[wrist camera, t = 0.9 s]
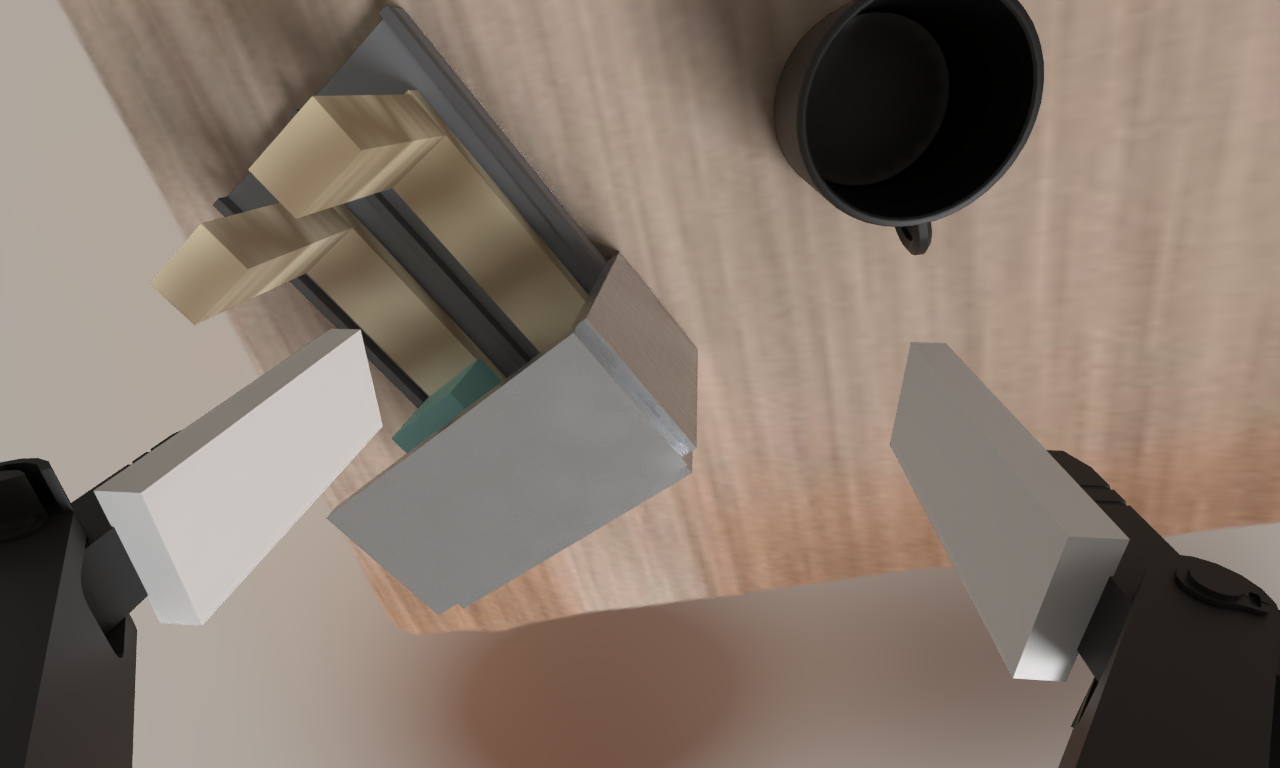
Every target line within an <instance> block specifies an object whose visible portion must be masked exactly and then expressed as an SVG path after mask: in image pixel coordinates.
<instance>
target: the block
mask: <svg viewBox="0 0 1280 768" xmlns="http://www.w3.org/2000/svg"><path fill="white" fill-rule="evenodd" d="M501 382H502V380H501V379H500V378H499V377H498V376H497V375H496V374H495V373H494V372H493V371H492V370H491V369H490V368H489V366H488V365H487V364H486V363H485V362H484V361H483V360H482V359H481V358H480V357H479V358H478V359H477V360H476V361H474V362H473V363H472V364H471V365H469V366H468V367H467V368H465V369H464V370H463V371H462V372H460V373H459V374H458V375H457V376H455V377H454V378H453V379H451V380H450V381H449V382H448V383H446V384H445V385H444V386H443V387H441V388H440V389H439V390H437V391H436V392H435V393H434V394H432V395H431V396H430V397H429V398H427V399H426V400H425V401H424V403H423V404H422V405H421V406H420V407H419V408H418V409H417V410H416V412H415V413H414V414H413V415H412V416H411V417H410V418H409V419H408V421H407V422H406V423H405V424H404V425H403V426H402V427H401V428H400V430H399V431H398V432H397V433H396V434H395V435H394V436H393V437H392V440H394V441H395V442H396V443H397V444H398V445H399V446H400V447H401V448H402V449H403V450H404V451H405V452H406V453H408V452H409V451H411V450H412V449H413V448H415V447H416V446H417V445H419V444H420V443H421V442H423V441H424V440H425V439H427V438H428V437H429V436H431V435H432V434H433V433H435V432H436V431H437V430H439V429H440V428H441V427H443V426H444V425H445V424H447V423H448V422H449V421H450V420H452V419H453V418H454V417H456V416H457V415H458V414H460V413H461V412H462V411H464V410H465V409H466V408H468V407H469V406H470V405H472V404H473V403H474V402H476V401H477V400H478V399H480V398H481V397H482V396H484V395H485V394H486V393H488V392H489V391H490V390H492V389H493V388H494V387H496V386H497V385H498V384H500V383H501Z"/></svg>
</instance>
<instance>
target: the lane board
mask: <svg viewBox="0 0 1280 768" xmlns="http://www.w3.org/2000/svg"><path fill="white" fill-rule="evenodd" d="M379 14H380V16H381V17H382V18H383V20H382V21H381V22H380V23H379V24H378V25H377V26H376V28H375V29H374V30H373V31H372V32H371V33H370V34H369V36H368V37H367V38H366V39H365V40H364V41H363V42H362V44H361V45H360V46H359V47H358V48H357V49H356V50H355V52H354V53H353V54H352V55H351V56H350V57H349V58H348V60H347V61H346V62H345V63H344V64H343V65H342V66H341V68H340V69H339V70H338V71H337V72H336V73H335V74H334V76H333V77H332V78H331V79H330V80H329V81H328V82H327V84H326V85H325V86H324V87H323V88H322V89H321V90H320V92H319V93H318V94H317V95H316V96H342V95H404V94H405V93H406V92H407V91H408V90H418V91H419V92H420V94H421V95H422V96H423V97H424V98H425V100H426V101H427V102H428V103H429V104H430V106H431V107H432V108H433V109H434V110H435V112H436V113H437V114H438V115H439V116H440V118H441V119H442V120H443V121H444V122H445V124H446V125H447V126H448V127H449V128H450V130H451V131H452V132H453V133H454V134H455V136H456V137H457V138H458V139H459V140H460V142H461V143H462V144H463V145H464V146H465V148H466V149H467V150H468V151H469V152H470V154H471V155H472V156H473V157H474V158H475V160H476V161H477V162H478V163H479V164H480V165H481V167H482V168H483V169H484V170H485V171H486V173H487V174H488V175H489V176H490V177H491V179H492V180H493V181H494V182H495V183H496V185H497V186H498V187H499V188H500V189H501V191H502V192H503V193H504V194H505V195H506V197H507V198H508V199H509V200H510V201H511V203H512V204H513V205H514V206H515V207H516V209H517V210H518V211H519V212H520V213H521V215H522V216H523V217H524V218H525V219H526V221H527V222H528V223H529V224H530V225H531V227H532V228H533V229H534V230H535V231H536V233H537V234H538V235H539V236H540V237H541V239H542V240H543V241H544V242H545V243H546V245H547V246H548V247H549V248H550V249H551V251H552V252H553V253H554V254H555V255H556V257H557V258H558V259H559V260H560V261H561V263H562V264H563V265H564V266H565V267H566V269H567V270H568V271H569V272H570V273H571V275H572V276H573V277H574V278H575V279H576V281H577V282H578V283H579V284H580V285H581V286H582V288H583V289H584V290H585V291H586V292H587V294H588V295H589V294H590V292H591V290H592V288H593V286H594V285H595V283H596V281H597V279H598V277H599V275H600V274H601V272H602V270H603V268H604V266H605V264H606V263H607V261H606V259H605V258H604V257H603V256H602V255H601V253H600V252H599V251H598V250H597V248H596V247H595V246H594V245H593V243H592V242H591V241H590V240H589V238H588V237H587V236H586V235H585V233H584V232H583V231H582V230H581V228H580V227H579V226H578V225H577V224H576V222H575V221H574V220H573V219H572V217H571V216H570V215H569V214H568V212H567V211H566V210H565V209H564V207H563V206H562V205H561V204H560V202H559V201H558V200H557V199H556V197H555V196H554V195H553V194H552V193H551V191H550V190H549V189H548V188H547V186H546V185H545V184H544V183H543V181H542V180H541V179H540V178H539V176H538V175H537V174H536V173H535V171H534V170H533V169H532V168H531V166H530V165H529V164H528V163H527V162H526V160H525V159H524V158H523V157H522V155H521V154H520V153H519V152H518V150H517V149H516V148H515V147H514V145H513V144H512V143H511V142H510V140H509V139H508V138H507V137H506V135H505V134H504V133H503V132H502V131H501V129H500V128H499V127H498V126H497V124H496V123H495V122H494V121H493V119H492V118H491V117H490V116H489V114H488V113H487V112H486V111H485V109H484V108H483V107H482V106H481V104H480V103H479V102H478V101H477V100H476V98H475V97H474V96H473V95H472V93H471V92H470V91H469V90H468V88H467V87H466V86H465V85H464V83H463V82H462V81H461V80H460V78H459V77H458V76H457V75H456V73H455V72H454V71H453V70H452V69H451V67H450V66H449V65H448V64H447V62H446V61H445V60H444V59H443V57H442V56H441V55H440V54H439V52H438V51H437V50H436V49H435V47H434V46H433V45H432V44H431V43H430V41H429V40H428V39H427V38H426V36H425V35H424V34H423V33H422V31H421V30H420V29H419V28H418V26H417V25H416V24H415V23H414V21H413V20H412V19H411V18H410V16H409V15H408V14H407V13H406V12H405V10H404V9H400V8H396V7H393V6H389V5H386V6H385V7H384V8H383V9H382V11H381V12H380V13H379ZM300 110H301V109H296V110H295V111H294V112H293V113H292V114H291V115H290V118H291V119H293V118H294V116H295V115H296V114H297V113H298V112H299V111H300ZM276 203H280V202H279V201H278V200H277V199H276V198H275V197H274V196H273V195H272V194H271V193H270V192H269V191H268V190H267V189H266V187H265V186H264V185H263V184H262V183H261V182H260V181H259V180H258V179H257V178H256V177H255V176H254V175H253V174H252V173H251V172H249V173H248V174H247V175H246V176H245V177H244V178H243V180H242V181H241V182H240V183H239V184H238V185H237V186H236V188H235V189H234V190H233V191H232V192H231V193H230V194H229V196H227V197H223V198H218V199H217V201H216V202H215V203H214V204H213V206H214V207H215V208H216V209H217V210H218V211H219V212H220V213H221V214H222V215H223V216H224V217H228V216H231V215H235V214H239V213H243V212H246V211H250V210H254V209H258V208H261V207H265V206H269V205H273V204H276ZM344 204H345V205H346V206H347V208H348V209H349V210H350V211H351V212H352V213H353V214H354V215H355V216H356V217H357V218H358V219H359V220H360V222H361V223H362V224H363V225H364V226H365V227H366V228H367V229H368V230H369V231H370V232H371V233H372V234H373V235H374V237H375V238H376V239H377V240H378V241H379V242H380V243H381V244H382V245H383V246H384V247H385V248H386V249H387V250H388V252H389V253H390V254H391V255H392V256H393V257H394V258H395V259H396V260H397V261H398V262H399V263H400V264H401V265H402V267H403V268H404V269H405V270H406V271H407V272H408V273H409V274H410V275H411V276H412V277H413V278H414V279H415V280H416V282H417V283H418V284H419V285H420V286H421V287H422V288H423V289H424V290H425V291H426V292H427V293H428V294H429V295H430V297H431V298H432V299H433V300H434V301H435V302H436V303H437V304H438V305H439V306H440V307H441V308H442V309H443V310H444V312H445V313H446V314H447V315H448V316H449V317H450V318H451V319H452V320H453V321H454V322H455V323H456V324H457V325H458V327H459V328H460V329H461V330H462V331H463V332H464V333H465V334H466V335H467V336H468V337H469V338H470V339H471V340H472V342H473V343H474V344H475V345H476V346H477V347H478V348H479V349H480V350H481V351H482V352H483V353H484V354H485V355H486V357H487V358H488V359H489V360H490V361H491V362H492V363H493V364H494V365H495V366H496V367H497V368H498V369H499V370H500V372H501V373H502V374H503V375H504V376H505V377H506V378H508V377H509V376H510V375H511V374H513V373H514V372H515V371H517V370H518V369H519V368H521V367H522V366H523V365H525V364H526V363H527V362H529V361H530V360H531V359H533V358H534V357H535V356H537V355H538V354H539V353H540V352H539V351H538V350H537V349H536V347H535V346H534V345H533V344H532V343H531V342H530V341H529V340H528V339H527V337H526V336H525V335H524V334H523V333H522V332H521V331H520V330H519V329H518V327H517V326H516V325H515V324H514V323H513V322H512V321H511V320H510V318H509V317H508V316H507V315H506V314H505V313H504V312H503V311H502V310H501V308H500V307H499V306H498V305H497V304H496V303H495V302H494V301H493V300H492V298H491V297H490V296H489V295H488V294H487V293H486V292H485V291H484V289H483V288H482V287H481V286H480V285H479V284H478V283H477V282H476V281H475V279H474V278H473V277H472V276H471V275H470V274H469V273H468V272H467V271H466V269H465V268H464V267H463V266H462V265H461V264H460V263H459V262H458V260H457V259H456V258H455V257H454V256H453V255H452V254H451V253H450V252H449V250H448V249H447V248H446V247H445V246H444V245H443V244H442V243H441V242H440V240H439V239H438V238H437V237H436V236H435V235H434V234H433V233H432V231H431V230H430V229H429V228H428V227H427V226H426V225H425V224H424V223H423V221H422V220H421V219H420V218H419V217H418V216H417V215H416V214H415V213H414V211H413V210H412V209H411V208H410V207H409V206H408V205H407V204H406V202H405V201H404V200H403V199H402V198H401V197H400V196H399V195H398V194H397V192H396V191H395V190H394V189H393V188H391V189H388V190H385V191H381V192H378V193H375V194H372V195H369V196H366V197H363V198H359V199H356V200H353V201H350V202H347V203H344ZM290 282H291V283H292V284H293V285H294V286H295V287H296V288H297V289H298V290H299V291H300V292H301V293H302V294H303V295H304V296H305V297H306V298H307V299H308V300H309V301H310V302H311V303H312V304H313V305H314V306H315V307H316V308H317V309H318V310H319V311H320V312H321V313H322V314H323V315H324V316H325V317H326V318H327V319H328V320H330V321H331V322H332V323H333V324H334V325H335V326H336V327H337V328H338V329H361V334H362V338H363V342H364V347H365V351H366V355H367V358H368V359H369V360H370V361H371V362H372V363H373V364H374V365H375V366H376V367H377V368H378V369H379V370H380V371H381V372H382V373H383V374H384V375H385V376H386V377H387V378H388V379H389V380H390V381H391V382H392V383H393V384H394V385H395V386H396V387H397V388H398V389H399V390H400V391H401V392H402V393H403V394H404V395H405V396H406V397H407V398H408V399H409V400H410V401H411V402H412V403H413V404H414V405H415V406H416V407H417V408H419V407H420V406H421V405H422V404H423V403H424V401H425V400H426V399H427V398H429V396H428V395H427V394H426V393H425V392H424V391H423V389H422V388H421V387H420V386H419V385H418V384H417V383H416V382H415V381H414V380H413V379H412V378H411V377H410V376H409V375H408V374H407V373H406V372H405V371H404V370H403V369H402V368H401V367H400V366H399V365H398V364H397V363H396V362H395V361H394V360H393V359H392V358H391V357H390V356H389V355H388V354H387V353H386V352H385V351H384V350H383V349H382V348H381V347H380V346H379V345H378V344H377V343H376V342H375V341H374V340H373V339H372V338H371V337H370V336H369V335H368V334H367V333H366V332H365V331H364V330H363V329H362V328H361V327H360V326H359V325H358V324H357V323H356V322H355V321H354V320H353V319H352V318H351V317H350V316H349V315H348V314H347V313H346V312H345V311H344V310H343V309H342V308H341V307H340V306H339V305H338V304H337V303H336V302H335V301H334V300H333V299H332V298H331V297H330V296H329V295H328V294H327V293H326V292H325V291H324V290H323V289H322V288H321V287H320V286H319V285H318V284H317V283H316V282H315V281H314V280H313V279H312V278H311V277H310V276H309V275H308V274H307V273H305V274H303V275H301V276H299V277H297V278H295V279H293V280H290Z"/></svg>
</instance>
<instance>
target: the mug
mask: <svg viewBox="0 0 1280 768" xmlns="http://www.w3.org/2000/svg"><path fill="white" fill-rule="evenodd" d="M1043 83H1044V61H1043V55H1042V50H1041V44H1040V41H1039V37H1038V35H1037V32H1036V29H1035V26H1034V24H1033V22H1032V20H1031V18H1030V17H1029V15H1028V14H1027V12H1026V10H1025V9H1024V7H1023V6H1022V5H1021V3H1020V2H1019V1H1018V0H853V1H851V2H849V3H848V4H846V5H844V6H843V7H841V8H839V9H837V10H836V11H834V12H832V13H831V14H829V15H828V16H826V17H825V18H823V19H822V20H821V21H819V22H818V23H817V24H816V25H815V26H813V27H812V28H811V29H810V30H809V31H808V32H807V33H806V34H805V36H804V37H803V38H802V39H801V40H800V42H799V43H798V44H797V45H796V47H795V48H794V50H793V52H792V53H791V55H790V57H789V58H788V60H787V62H786V64H785V66H784V69H783V71H782V74H781V76H780V79H779V83H778V87H777V91H776V96H775V105H774V121H775V128H776V134H777V138H778V141H779V144H780V147H781V149H782V152H783V154H784V156H785V157H786V159H787V161H788V163H789V164H790V165H791V167H792V168H793V169H794V170H795V172H796V173H797V174H798V175H799V176H801V177H802V178H803V179H804V180H805V181H806V182H807V183H808V184H810V185H811V186H812V187H813V188H814V189H815V190H816V191H818V192H819V193H820V194H821V195H822V196H823V197H824V198H826V199H827V200H828V201H829V202H830V203H831V204H833V205H834V206H835V207H836V208H838V209H839V210H841V211H842V212H844V213H846V214H847V215H849V216H851V217H853V218H856V219H858V220H861V221H863V222H866V223H871V224H876V225H881V226H893V227H895V229H896V231H897V234H898V236H899V238H900V240H901V242H902V244H903V245H904V246H905V247H906V249H907V250H908V251H909V252H910V253H911V254H913V255H920V254H924V253H925V252H926V250H927V249H928V247H929V245H930V243H931V237H932V227H931V222H932V221H936V220H938V219H941V218H943V217H946V216H948V215H951V214H953V213H955V212H957V211H959V210H960V209H962V208H964V207H966V206H967V205H969V204H971V203H972V202H974V201H975V200H976V199H978V198H979V197H980V196H982V195H983V194H984V193H985V192H986V191H988V190H989V189H990V188H991V187H992V186H993V185H994V184H995V183H996V182H997V181H998V180H999V179H1000V178H1001V177H1002V176H1003V175H1004V174H1005V173H1006V171H1007V170H1008V169H1009V168H1010V166H1011V165H1012V164H1013V162H1014V161H1015V160H1016V158H1017V157H1018V155H1019V153H1020V152H1021V150H1022V149H1023V147H1024V145H1025V144H1026V142H1027V140H1028V138H1029V135H1030V133H1031V131H1032V129H1033V126H1034V124H1035V121H1036V118H1037V114H1038V111H1039V108H1040V104H1041V99H1042V92H1043Z"/></svg>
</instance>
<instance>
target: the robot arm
mask: <svg viewBox="0 0 1280 768" xmlns="http://www.w3.org/2000/svg"><path fill="white" fill-rule="evenodd" d="M382 426H383V425H382V421H381V416H380V412H379V408H378V403H377V399H376V395H375V390H374V386H373V381H372V377H371V373H370V368H369V364H368V360H367V355H366V351H365V347H364V342H363V338H362V334H361V329H330V330H328V331H327V332H325V333H324V334H322V335H321V336H319V337H318V338H316V339H315V340H314V341H312V342H311V343H309V344H308V345H306V346H305V347H303V348H302V349H300V350H299V351H297V352H296V353H295V354H293V355H292V356H290V357H289V358H287V359H286V360H284V361H283V362H281V363H280V364H278V365H277V366H275V367H274V368H273V369H271V370H270V371H268V372H267V373H265V374H264V375H262V376H261V377H259V378H258V379H256V380H255V381H254V382H252V383H251V384H249V385H248V386H246V387H245V388H243V389H242V390H240V391H239V392H237V393H236V394H234V395H233V396H231V397H230V398H229V399H227V400H226V401H224V402H223V403H221V404H220V405H218V406H217V407H215V408H214V409H212V410H211V411H210V412H208V413H207V414H205V415H204V416H202V417H201V418H199V419H198V420H196V421H195V422H193V423H192V424H190V425H189V426H188V427H186V428H185V429H183V430H181V431H179V432H176V433H174V434H172V435H171V436H169V437H168V438H167V439H165V440H163V441H162V442H160V443H159V444H158V445H156V446H155V447H153V448H152V449H151V452H146V453H144V454H143V455H141V456H140V457H139V458H137V459H136V460H134V461H133V463H132V465H127V466H125V467H124V468H122V469H121V470H119V471H118V472H116V473H115V474H113V475H112V476H110V477H109V478H107V479H106V480H105V481H103V482H101V483H100V484H98V485H97V486H96V487H94V488H93V489H91V490H90V491H88V492H87V493H85V494H84V495H82V496H81V497H79V498H78V499H76V500H75V501H73V502H72V503H70V501H69V499H68V497H67V495H66V493H65V492H64V490H63V488H62V486H61V484H60V482H59V480H58V478H57V476H56V475H55V473H54V471H53V469H52V467H51V465H50V463H49V461H45V460H42V459H39V458H34V459H33V458H30V459H17V460H12V461H6V462H1V463H0V768H132V755H133V724H134V699H135V698H134V697H135V670H136V643H137V629H136V627H135V624H134V622H133V620H132V618H131V616H130V614H129V613H130V612H131V611H132V610H133V609H134V608H135V607H136V606H137V605H138V604H139V603H141V601H142V600H144V598H146V597H147V598H148V600H149V602H150V604H151V606H152V608H153V610H154V612H155V614H156V616H157V618H158V620H159V622H160V623H170V624H185V625H200V626H202V625H203V624H204V623H205V622H206V621H207V620H208V618H210V617H211V615H212V614H213V613H214V612H215V611H216V610H217V609H218V608H219V607H220V605H221V604H222V603H223V602H224V601H225V600H226V599H227V598H228V597H229V595H230V594H231V593H232V592H233V591H234V590H235V589H236V588H237V587H238V586H239V584H240V583H241V582H242V581H243V580H244V579H245V578H246V577H247V576H248V575H249V573H250V572H251V571H252V570H253V569H254V568H255V567H256V566H257V564H258V563H259V562H260V561H261V560H262V559H263V558H264V557H265V556H266V554H268V552H269V551H270V550H271V549H272V548H273V547H274V546H275V544H277V542H278V541H279V540H280V539H281V538H282V537H283V536H284V535H285V534H286V532H287V531H288V530H289V529H290V528H291V527H292V526H293V525H294V524H295V523H296V521H297V520H298V519H299V518H300V517H301V516H302V515H303V514H304V513H305V512H306V510H307V509H308V508H309V507H310V506H311V505H312V504H313V503H314V502H315V500H316V499H317V498H318V497H319V496H320V495H321V494H322V493H323V492H324V491H325V489H326V488H327V487H328V486H329V485H330V484H331V483H332V482H333V481H334V480H335V478H336V477H337V476H338V475H339V474H340V473H341V472H342V471H343V470H344V468H345V467H346V466H347V465H348V464H349V463H350V462H351V461H352V460H353V459H354V457H355V456H356V455H357V454H358V453H359V452H360V451H361V450H362V449H363V447H364V446H365V445H366V444H367V443H368V442H369V441H370V440H371V439H372V438H373V436H374V435H375V434H376V433H377V432H378V431H379V430H380V429H381V428H382ZM890 446H891V448H892V449H893V451H894V453H895V455H896V457H897V459H898V461H899V463H900V465H901V467H902V468H903V470H904V472H905V474H906V476H907V478H908V480H909V482H910V484H911V486H912V487H913V489H914V491H915V493H916V495H917V497H918V499H919V501H920V503H921V505H922V507H923V508H924V510H925V512H926V514H927V516H928V518H929V520H930V522H931V524H932V526H933V527H934V529H935V531H936V533H937V535H938V537H939V539H940V541H941V543H942V545H943V546H944V548H945V550H946V552H947V554H948V556H949V558H950V560H951V562H952V564H953V565H954V567H955V569H956V571H957V573H958V575H959V577H960V579H961V581H962V582H963V584H964V586H965V588H966V590H967V592H968V594H969V596H970V598H971V600H972V602H973V603H974V605H975V607H976V609H977V611H978V613H979V615H980V617H981V618H982V620H983V622H984V624H985V626H986V628H987V630H988V632H989V634H990V636H991V637H992V639H993V641H994V643H995V645H996V647H997V649H998V651H999V653H1000V655H1001V657H1002V659H1003V660H1004V662H1005V664H1006V666H1007V668H1008V670H1009V672H1010V674H1011V676H1012V677H1013V678H1017V679H1018V678H1019V679H1034V680H1048V681H1063V682H1066V680H1067V678H1068V676H1069V673H1070V671H1071V669H1072V667H1073V664H1074V662H1075V660H1076V658H1077V656H1078V653H1079V654H1080V655H1081V657H1082V658H1083V660H1084V661H1085V663H1086V664H1087V666H1088V667H1089V669H1090V670H1091V672H1092V673H1093V675H1094V676H1095V677H1094V679H1093V682H1092V684H1091V686H1090V688H1089V690H1088V692H1087V694H1086V696H1085V698H1084V700H1083V703H1082V704H1081V707H1080V709H1079V711H1078V713H1077V715H1076V717H1075V719H1074V721H1073V724H1072V725H1071V727H1073V731H1072V733H1071V736H1070V739H1069V741H1068V744H1067V746H1066V749H1065V752H1064V754H1063V757H1062V759H1061V762H1060V765H1059V767H1058V768H1280V610H1278V608H1277V605H1276V603H1275V602H1274V601H1273V600H1272V599H1271V598H1270V597H1269V596H1268V595H1267V594H1266V593H1265V592H1264V591H1263V590H1262V589H1261V588H1260V587H1258V586H1256V585H1255V584H1253V583H1252V582H1251V581H1249V580H1248V579H1246V578H1245V577H1243V576H1242V575H1240V574H1238V573H1235V572H1233V571H1231V570H1229V569H1227V568H1225V567H1223V566H1220V565H1218V564H1216V563H1212V562H1209V561H1206V560H1202V559H1199V558H1196V557H1191V556H1182V555H1179V554H1178V553H1177V552H1176V551H1175V550H1174V549H1173V548H1172V547H1171V546H1170V545H1169V544H1168V543H1167V542H1166V541H1165V540H1164V539H1163V538H1162V537H1161V536H1160V535H1159V534H1158V533H1157V532H1156V531H1155V530H1154V529H1153V528H1152V527H1151V526H1150V525H1149V524H1148V523H1147V522H1146V521H1145V520H1144V519H1143V518H1142V517H1141V516H1140V515H1139V514H1138V513H1137V512H1136V511H1135V510H1134V509H1133V508H1132V507H1131V506H1127V505H1126V501H1125V500H1124V499H1123V498H1122V497H1121V496H1120V495H1119V494H1118V493H1117V492H1116V491H1115V490H1110V485H1108V484H1107V483H1106V482H1105V481H1104V480H1103V479H1102V478H1101V477H1100V476H1099V475H1098V474H1097V473H1096V472H1095V471H1094V470H1093V469H1092V468H1091V467H1090V466H1088V465H1086V464H1085V463H1083V462H1081V461H1079V460H1078V459H1076V458H1074V457H1073V456H1071V455H1069V454H1067V453H1066V452H1064V451H1052V450H1045V448H1044V447H1043V446H1042V445H1041V444H1040V443H1039V442H1038V441H1037V440H1036V439H1035V438H1034V437H1033V436H1032V435H1031V434H1030V432H1029V431H1028V430H1027V429H1026V428H1025V427H1024V426H1023V425H1022V424H1021V423H1020V422H1019V421H1018V420H1017V419H1016V418H1015V416H1014V415H1013V414H1012V413H1011V412H1010V411H1009V410H1008V409H1007V408H1006V407H1005V406H1004V405H1003V404H1002V403H1001V402H1000V400H999V399H998V398H997V397H996V396H995V395H994V394H993V393H992V392H991V391H990V390H989V389H988V388H987V387H986V386H985V385H984V383H983V382H982V381H981V380H980V379H979V378H978V377H977V376H976V375H975V374H974V373H973V372H972V371H971V370H970V369H969V367H968V366H967V365H966V364H965V363H964V362H963V361H962V360H961V359H960V358H959V357H958V356H957V355H956V354H955V353H954V351H953V350H952V349H951V348H950V347H949V346H948V345H947V344H946V343H920V342H911V345H910V349H909V354H908V359H907V364H906V369H905V374H904V379H903V383H902V388H901V393H900V398H899V403H898V408H897V413H896V418H895V422H894V427H893V432H892V437H891V442H890Z"/></svg>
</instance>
